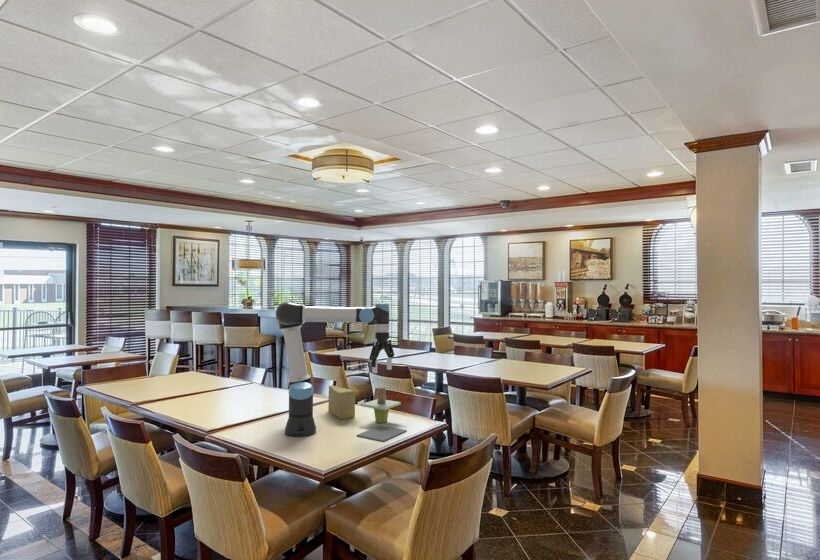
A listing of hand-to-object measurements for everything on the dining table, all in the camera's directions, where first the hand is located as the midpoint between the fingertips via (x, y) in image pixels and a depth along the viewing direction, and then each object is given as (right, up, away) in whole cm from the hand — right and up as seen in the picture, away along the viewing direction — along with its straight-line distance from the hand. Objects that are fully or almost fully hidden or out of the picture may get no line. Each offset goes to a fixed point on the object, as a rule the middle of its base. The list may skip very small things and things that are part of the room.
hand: (382, 371), depth 255 cm
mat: (+1, -26, -23) cm, 35 cm away
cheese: (-26, -27, +14) cm, 40 cm away
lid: (0, -18, -1) cm, 18 cm away
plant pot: (0, -27, -1) cm, 27 cm away
